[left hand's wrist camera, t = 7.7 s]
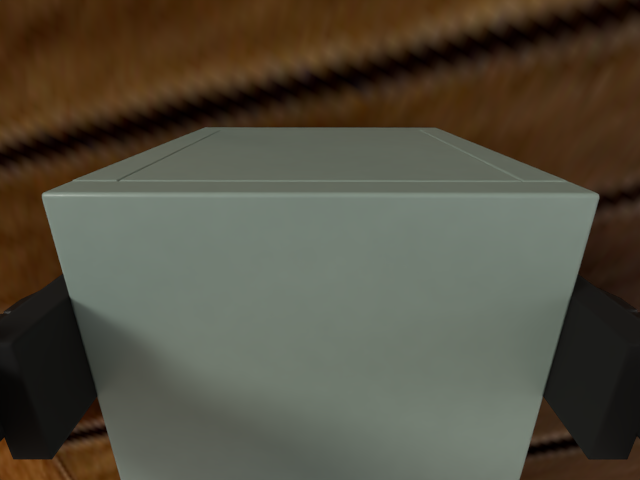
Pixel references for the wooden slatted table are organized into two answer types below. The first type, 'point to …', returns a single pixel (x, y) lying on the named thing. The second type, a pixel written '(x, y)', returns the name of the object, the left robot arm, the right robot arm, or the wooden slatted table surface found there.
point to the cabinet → (320, 302)
